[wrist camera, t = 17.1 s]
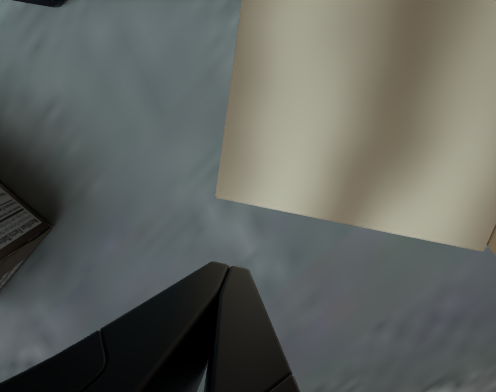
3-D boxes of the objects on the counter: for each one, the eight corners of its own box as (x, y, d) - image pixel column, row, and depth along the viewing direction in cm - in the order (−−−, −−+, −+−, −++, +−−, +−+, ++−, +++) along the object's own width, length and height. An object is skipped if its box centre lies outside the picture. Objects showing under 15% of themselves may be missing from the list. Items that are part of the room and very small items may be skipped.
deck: (227, 176, 21) (214, 197, 18) (296, -300, 14) (294, -386, 11) (458, 222, 20) (483, 251, 17) (655, -261, 13) (750, -343, 10)
